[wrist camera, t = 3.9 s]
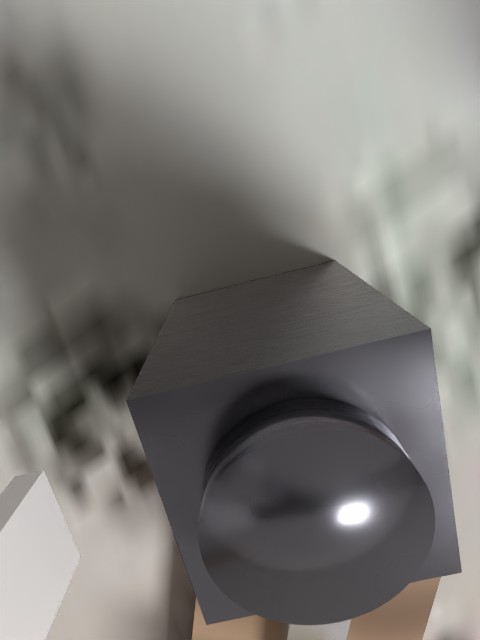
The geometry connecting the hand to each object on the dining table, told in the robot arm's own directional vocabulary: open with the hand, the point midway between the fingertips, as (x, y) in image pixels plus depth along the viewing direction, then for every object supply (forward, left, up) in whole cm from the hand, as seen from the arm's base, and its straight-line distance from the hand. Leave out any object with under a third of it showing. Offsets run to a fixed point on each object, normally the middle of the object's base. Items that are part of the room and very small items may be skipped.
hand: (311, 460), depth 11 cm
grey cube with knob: (0, 0, -7) cm, 7 cm away
